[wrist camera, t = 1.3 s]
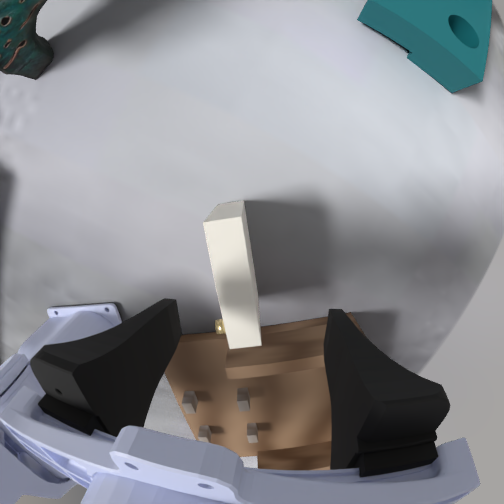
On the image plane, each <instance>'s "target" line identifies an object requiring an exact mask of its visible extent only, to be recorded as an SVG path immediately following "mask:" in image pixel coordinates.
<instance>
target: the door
mask: <svg viewBox="0 0 504 504" xmlns="http://www.w3.org/2000/svg"><path fill="white" fill-rule="evenodd" d="M203 225H204V230H205V235H206V241H207V246H208V251H209V256H210V261H211V266H212V271H213V276H214V281H215V286H216V290H217V295H218V300H219V304H220V309H221V314H222V318H223V319H219V320H215V328H216V333H217V335H220V334H226V336H227V340H228V344H229V348H230V349H236V348H245V347H254V346H262V344H261V328H260V313H259V297H258V290H257V284H256V277H255V270H254V264H253V257H252V250H251V244H250V237H249V231H248V224H247V217H246V211H245V204H244V200H243V201H237V202H230V203H223V204H218V205H217V206H216V207H215V208H214V210H213V211H212V212H211V213H210V215H209V216H208V217H207V218H206V219H205V221H204V222H203Z"/></svg>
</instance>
